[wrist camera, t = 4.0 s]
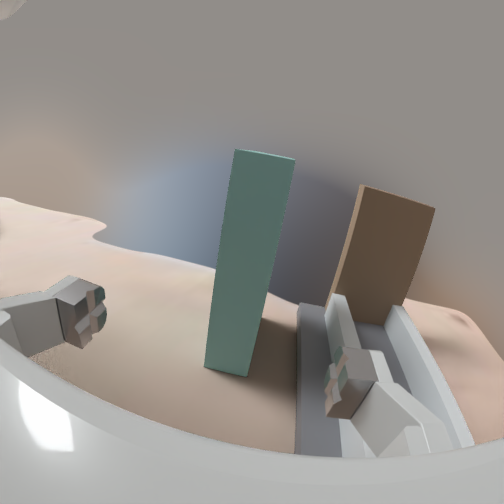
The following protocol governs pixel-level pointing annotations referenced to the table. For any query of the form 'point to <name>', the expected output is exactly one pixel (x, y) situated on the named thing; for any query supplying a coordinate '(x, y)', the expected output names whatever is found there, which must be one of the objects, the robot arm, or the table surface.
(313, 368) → the track base
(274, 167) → the teal rectangular block
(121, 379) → the table surface
